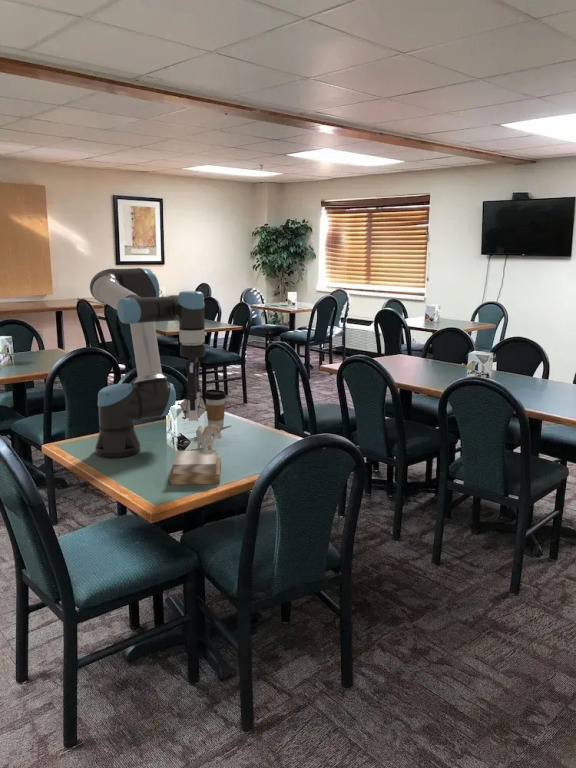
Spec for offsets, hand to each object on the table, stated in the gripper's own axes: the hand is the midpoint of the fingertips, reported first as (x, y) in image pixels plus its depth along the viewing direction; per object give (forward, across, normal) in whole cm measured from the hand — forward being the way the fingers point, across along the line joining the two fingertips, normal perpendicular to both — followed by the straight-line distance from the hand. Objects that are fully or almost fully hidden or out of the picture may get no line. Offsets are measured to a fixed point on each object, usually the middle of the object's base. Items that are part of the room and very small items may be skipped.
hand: (194, 416), depth 191 cm
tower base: (+19, 0, 0) cm, 19 cm away
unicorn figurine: (+19, +17, -5) cm, 26 cm away
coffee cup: (+19, +53, -4) cm, 57 cm away
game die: (+1, 0, 0) cm, 1 cm away
